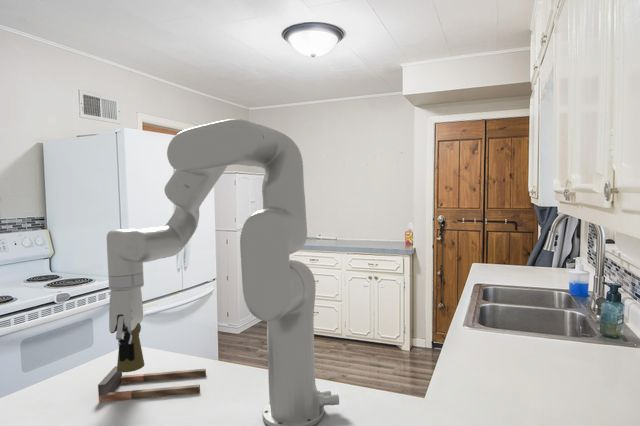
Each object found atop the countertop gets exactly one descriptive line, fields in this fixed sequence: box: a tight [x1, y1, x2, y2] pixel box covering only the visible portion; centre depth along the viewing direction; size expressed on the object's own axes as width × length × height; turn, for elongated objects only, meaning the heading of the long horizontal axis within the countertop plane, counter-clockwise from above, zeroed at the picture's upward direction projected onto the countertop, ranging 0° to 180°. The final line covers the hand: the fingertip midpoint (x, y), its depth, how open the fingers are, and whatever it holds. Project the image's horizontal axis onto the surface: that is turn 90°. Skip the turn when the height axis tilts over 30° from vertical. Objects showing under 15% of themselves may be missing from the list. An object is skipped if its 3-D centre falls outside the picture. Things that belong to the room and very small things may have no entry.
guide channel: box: [97, 365, 207, 403], centre depth 99 cm, size 22×10×4 cm, turn 97°
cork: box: [116, 323, 145, 373], centre depth 99 cm, size 6×6×11 cm
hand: (130, 356), depth 98 cm, fingers closed on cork, 3 cm apart
